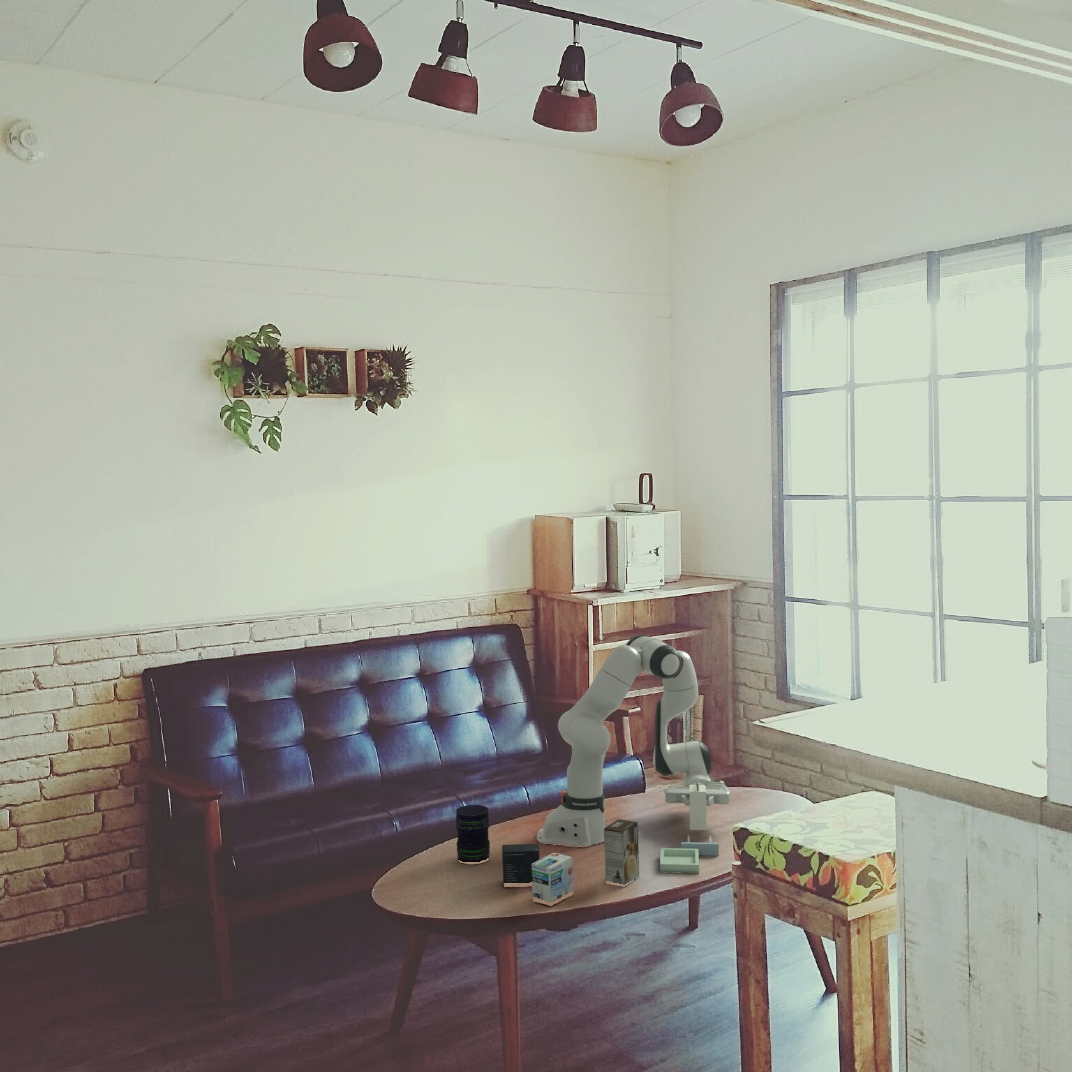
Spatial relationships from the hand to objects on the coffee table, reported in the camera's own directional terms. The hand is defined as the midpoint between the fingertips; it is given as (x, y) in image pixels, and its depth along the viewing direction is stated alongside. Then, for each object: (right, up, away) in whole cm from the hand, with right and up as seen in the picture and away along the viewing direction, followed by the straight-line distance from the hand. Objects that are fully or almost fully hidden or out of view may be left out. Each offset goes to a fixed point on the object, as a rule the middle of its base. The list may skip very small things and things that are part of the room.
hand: (697, 803), depth 348 cm
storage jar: (-69, -14, -13) cm, 71 cm away
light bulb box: (-45, -16, -44) cm, 65 cm away
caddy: (0, -7, +1) cm, 8 cm away
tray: (-8, -13, -21) cm, 26 cm away
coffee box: (-26, -14, -32) cm, 44 cm away
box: (-54, -15, -32) cm, 65 cm away
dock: (-1, -12, -9) cm, 15 cm away
